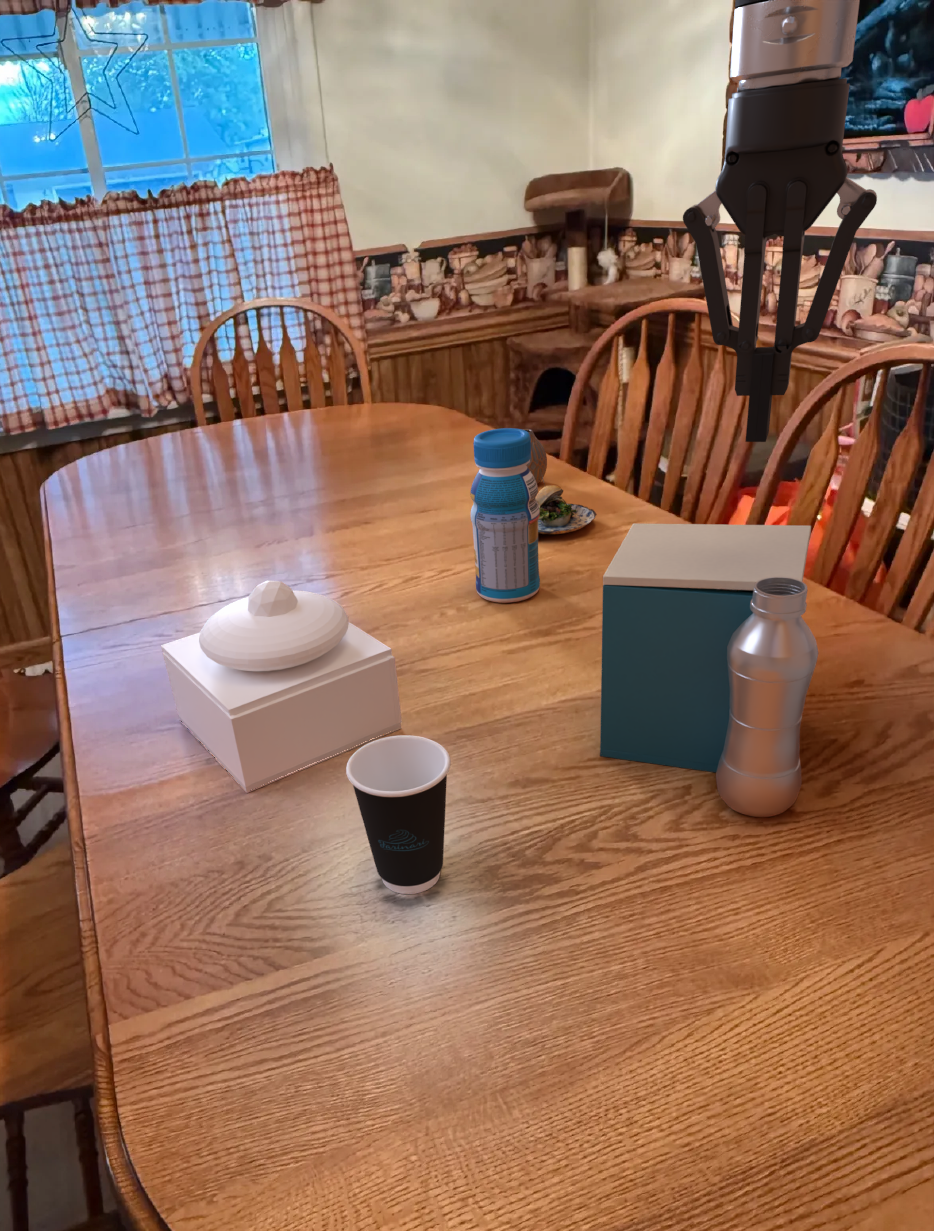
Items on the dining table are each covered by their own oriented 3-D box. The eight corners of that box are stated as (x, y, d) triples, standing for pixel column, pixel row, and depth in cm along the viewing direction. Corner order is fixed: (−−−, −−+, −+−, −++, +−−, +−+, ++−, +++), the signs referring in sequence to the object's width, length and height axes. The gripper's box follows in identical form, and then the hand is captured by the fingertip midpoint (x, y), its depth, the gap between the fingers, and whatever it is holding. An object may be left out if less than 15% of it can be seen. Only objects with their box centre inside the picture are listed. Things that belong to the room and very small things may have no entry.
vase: (496, 486, 160) (494, 433, 155) (523, 474, 164) (522, 422, 159) (528, 493, 155) (527, 438, 151) (555, 481, 159) (555, 427, 154)
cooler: (778, 708, 94) (799, 540, 85) (765, 779, 84) (788, 599, 75) (627, 690, 99) (632, 531, 90) (599, 756, 90) (602, 585, 81)
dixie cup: (424, 831, 83) (413, 723, 77) (479, 879, 77) (471, 765, 71) (344, 869, 79) (327, 759, 74) (395, 922, 73) (380, 807, 68)
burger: (530, 548, 135) (529, 496, 131) (503, 522, 145) (501, 473, 141) (610, 533, 137) (611, 481, 133) (577, 508, 147) (577, 460, 143)
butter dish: (247, 793, 90) (214, 642, 82) (177, 718, 104) (143, 582, 96) (403, 728, 98) (387, 583, 89) (319, 665, 111) (298, 535, 103)
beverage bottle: (495, 610, 119) (487, 449, 108) (463, 588, 126) (453, 434, 115) (553, 593, 121) (551, 434, 111) (519, 572, 128) (514, 421, 118)
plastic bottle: (804, 828, 78) (839, 604, 68) (717, 826, 79) (738, 605, 69) (790, 782, 83) (821, 567, 73) (709, 781, 85) (727, 570, 74)
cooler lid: (810, 533, 84) (811, 525, 84) (800, 592, 74) (801, 582, 74) (633, 531, 90) (632, 522, 90) (602, 584, 81) (602, 576, 80)
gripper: (678, 94, 63) (664, 450, 76) (899, 65, 58) (846, 451, 71) (695, 92, 69) (680, 423, 81) (897, 66, 64) (848, 423, 76)
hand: (757, 436), depth 76 cm, fingers closed
